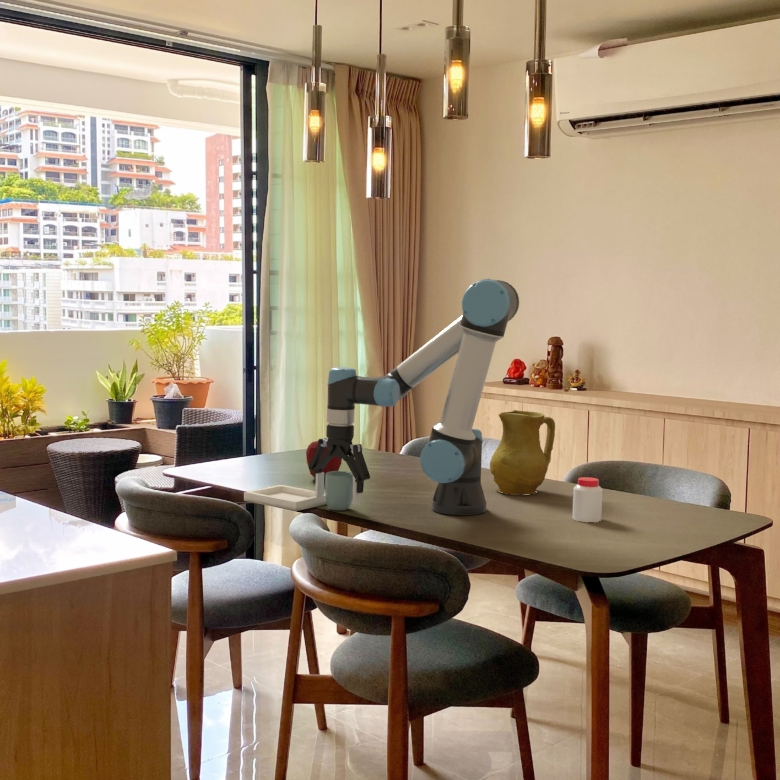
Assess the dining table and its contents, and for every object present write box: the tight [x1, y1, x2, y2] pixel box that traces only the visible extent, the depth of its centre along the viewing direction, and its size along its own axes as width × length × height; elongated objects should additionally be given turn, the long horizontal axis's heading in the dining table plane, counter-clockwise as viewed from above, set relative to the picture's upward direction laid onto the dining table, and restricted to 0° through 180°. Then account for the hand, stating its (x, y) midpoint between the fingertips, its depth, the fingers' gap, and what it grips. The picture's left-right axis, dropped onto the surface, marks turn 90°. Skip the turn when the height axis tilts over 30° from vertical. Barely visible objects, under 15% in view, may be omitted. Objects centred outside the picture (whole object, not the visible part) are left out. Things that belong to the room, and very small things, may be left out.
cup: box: [324, 470, 355, 512], centre depth 270 cm, size 8×8×10 cm
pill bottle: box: [571, 476, 604, 523], centre depth 264 cm, size 8×8×11 cm
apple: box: [305, 440, 343, 481], centre depth 313 cm, size 12×12×13 cm
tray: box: [243, 484, 327, 512], centre depth 278 cm, size 20×15×2 cm
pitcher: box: [489, 409, 556, 495], centre depth 298 cm, size 17×19×25 cm
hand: (337, 500), depth 270 cm, fingers open, 13 cm apart
